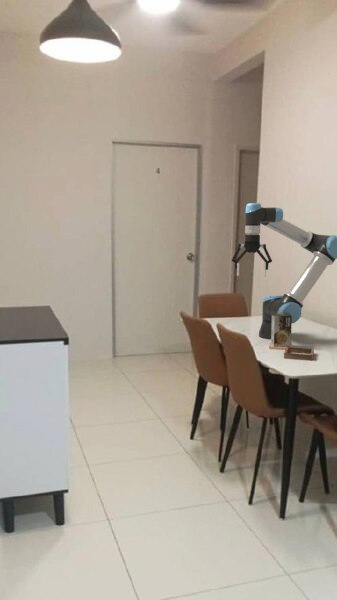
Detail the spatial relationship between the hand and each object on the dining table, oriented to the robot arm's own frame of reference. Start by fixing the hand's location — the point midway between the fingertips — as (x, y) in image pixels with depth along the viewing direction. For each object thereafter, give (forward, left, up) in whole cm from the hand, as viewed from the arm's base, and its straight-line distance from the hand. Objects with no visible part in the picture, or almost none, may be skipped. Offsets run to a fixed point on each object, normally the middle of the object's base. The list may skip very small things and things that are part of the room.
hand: (251, 276), depth 265 cm
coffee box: (+1, +16, -35) cm, 39 cm away
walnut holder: (+16, +26, -36) cm, 47 cm away
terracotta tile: (+1, +16, -36) cm, 39 cm away
